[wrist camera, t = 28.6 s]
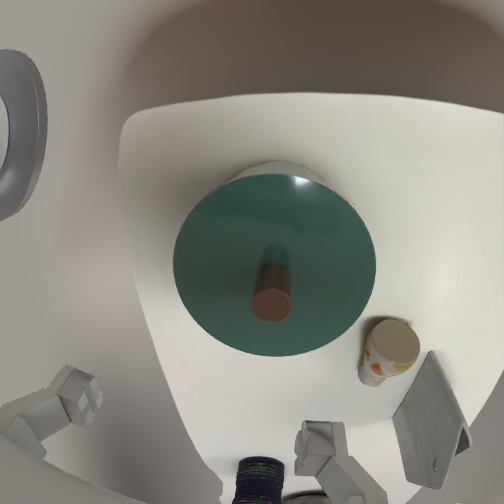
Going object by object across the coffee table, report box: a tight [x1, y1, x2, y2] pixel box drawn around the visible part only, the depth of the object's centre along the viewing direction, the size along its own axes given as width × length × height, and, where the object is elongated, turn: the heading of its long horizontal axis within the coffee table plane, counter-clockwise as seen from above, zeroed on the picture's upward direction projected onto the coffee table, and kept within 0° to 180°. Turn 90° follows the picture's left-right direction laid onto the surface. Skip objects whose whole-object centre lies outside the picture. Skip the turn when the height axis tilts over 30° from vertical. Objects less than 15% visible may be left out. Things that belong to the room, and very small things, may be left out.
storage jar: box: [232, 457, 284, 504], centre depth 46 cm, size 10×10×15 cm
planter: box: [392, 351, 473, 490], centre depth 31 cm, size 16×8×19 cm, turn 176°
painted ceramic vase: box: [358, 319, 420, 387], centre depth 35 cm, size 8×10×10 cm
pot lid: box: [173, 172, 376, 357], centre depth 20 cm, size 14×14×5 cm
